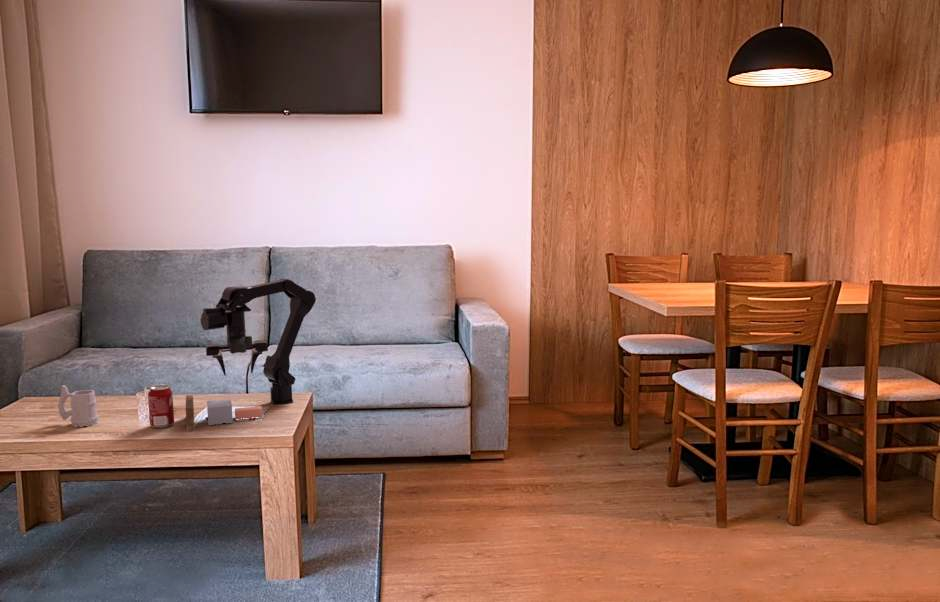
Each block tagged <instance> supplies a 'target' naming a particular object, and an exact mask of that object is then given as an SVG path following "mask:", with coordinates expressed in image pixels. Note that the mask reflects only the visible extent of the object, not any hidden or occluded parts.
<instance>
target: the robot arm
mask: <svg viewBox="0 0 940 602" xmlns="http://www.w3.org/2000/svg"><path fill="white" fill-rule="evenodd" d="M278 293H283V294H285V296H286V297H288V298H289V299H290V301H289V310H290V312H289V315H288V318H287V321H286V323H285V326H284V329H283V332H282V334H281V335H280V340H279V342H278V345H277V347H276V350H275V352H274V353H273V354H272V355H267V356H266V358H265V361H264V363H263V364H262V367H263V371H262V372H263V374H264V376H265V378H267V380H268V382H269V383H271V387H270V389H269V391H270V392H269V394H270V401H271V402H272V404H274V405H276V404H287V403H293V402H294V399H293V385H295V383H296V382H295V381H296V377H295V376H294V375H293V374H291V372H290V368H291V363H290V362H291V361H290V356H291V353H292V351H293V349H294V345H295V343H296V341H297V340H296V339H297V338H298V335H299V332H300V330H301V327H302V324H303V321H304V318H305V317H306V316H307V315H308V314H309V313H311V310H312V309H313V307H314V306H315V304H316V300H317V298H316V296H315V295H316V294H315V293H314V292H312V291H310V290H307V289H306V288H303V287H302V286H300V285H299V284H297V283H295V282H294V281H292V279H289V278H280V279H278V280H277V279H276V280H274V281H270V282H269V281H268V282H264V283H260V284H255V285H251V286H228V287H226V288H224V290H222V293H221V294H222V295H221V298H220V299H219V301H218V302H217V304H216V305H215V307H211V308H210V307H205V308H204V307H203V309H202V310H203V311H202V313H201V317H200V325H201V328H202V329H203V330H204V331H212V330H218V329H224V328H225V327H226V340H227V341H226V343H227V345H220V344H219V343H208V344H206V345H205V354H206V357H212V358H213V359H216V361H217V362H218V363H219V365H220V368H221V370H222V372H223V376H227V375H226V373H227V372H226V367H225V362H224V359H223V353H226V352H229V353H230V354H232V355H233V354H234V355H235V354H238V353H239V354H240V353H241V354H244V353H246V352H247V351H251V355H250V374H253V372H254V369H255V365H256V361H257V360H258V357H259V355H263V352H268V351H269V349H268V348H269V345H268V342H267V341H266V340H265V339H264V340H263V339H262V340H253V337H252V336H251V335H250V336H249V335H248V336H246V335H247V334H246V333H247V332H246V318H245V317H246V316H245V315H246V314H245V312H251V311H252V308H250V307H248V305H247V304H248V303H250V302H252V301H253V300H254V299H257V298H261V297H266V296H271V295H275V294H278Z"/></svg>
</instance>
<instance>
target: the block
mask: <svg viewBox="0 0 940 602" xmlns="http://www.w3.org/2000/svg"><path fill="white" fill-rule="evenodd" d="M206 407H207V409H206V411H207V426H213V425H214V426H216V425H223V424H222V423H226V424H233V423H232V422H234V421H233V420H234V419H233V405H232V400H231V398H223V399H213V400H212V399H211V400H206ZM230 422H231V423H230ZM215 424H216V425H215Z"/></svg>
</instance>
